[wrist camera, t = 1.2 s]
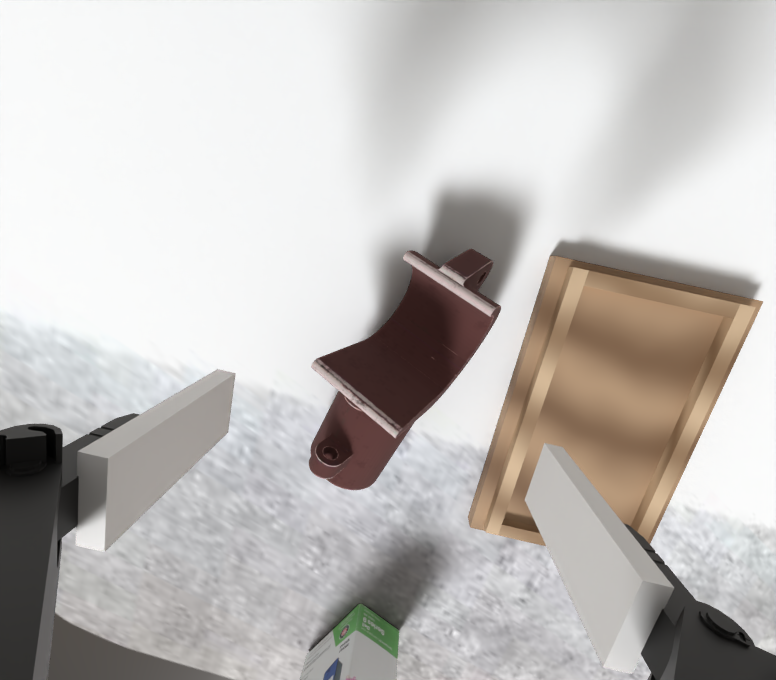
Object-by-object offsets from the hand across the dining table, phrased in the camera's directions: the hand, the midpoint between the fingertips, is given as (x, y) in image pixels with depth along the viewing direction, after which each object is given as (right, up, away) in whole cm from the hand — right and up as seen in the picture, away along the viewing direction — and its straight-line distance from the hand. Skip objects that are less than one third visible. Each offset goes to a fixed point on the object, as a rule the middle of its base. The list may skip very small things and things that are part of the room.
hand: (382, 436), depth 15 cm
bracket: (+1, +3, +13) cm, 14 cm away
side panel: (+16, -2, +13) cm, 21 cm away
